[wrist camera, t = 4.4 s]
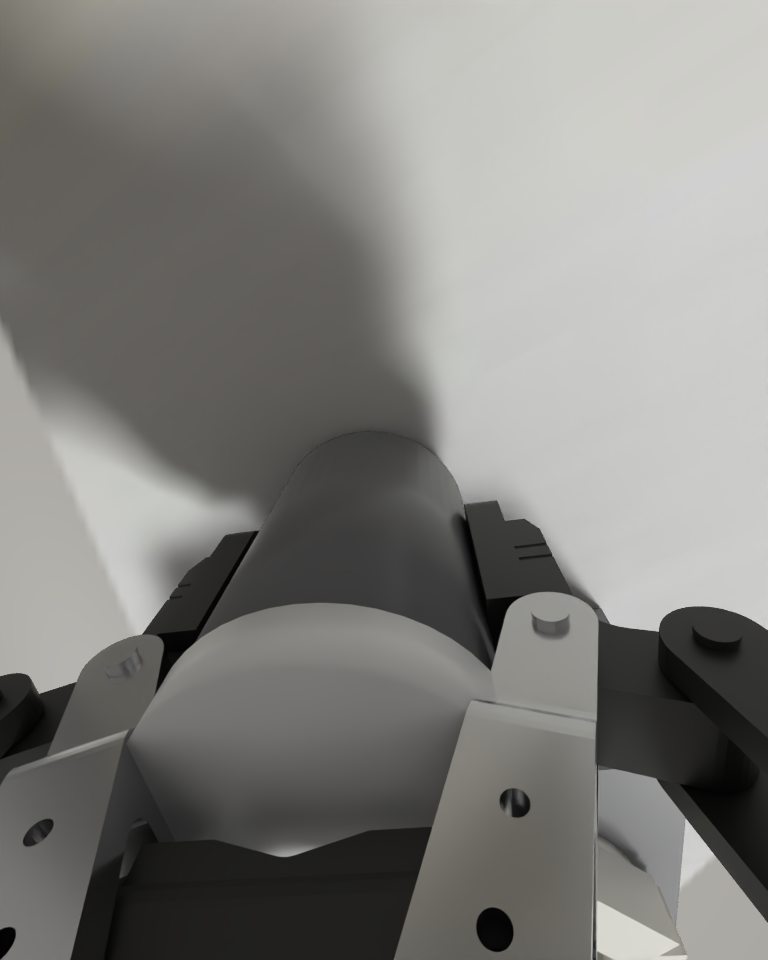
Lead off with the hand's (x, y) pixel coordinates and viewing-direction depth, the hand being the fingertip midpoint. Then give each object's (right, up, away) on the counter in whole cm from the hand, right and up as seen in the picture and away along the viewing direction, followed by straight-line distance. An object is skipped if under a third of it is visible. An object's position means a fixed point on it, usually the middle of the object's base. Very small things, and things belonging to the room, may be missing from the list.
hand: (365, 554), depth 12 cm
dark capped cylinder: (0, +1, +2) cm, 2 cm away
